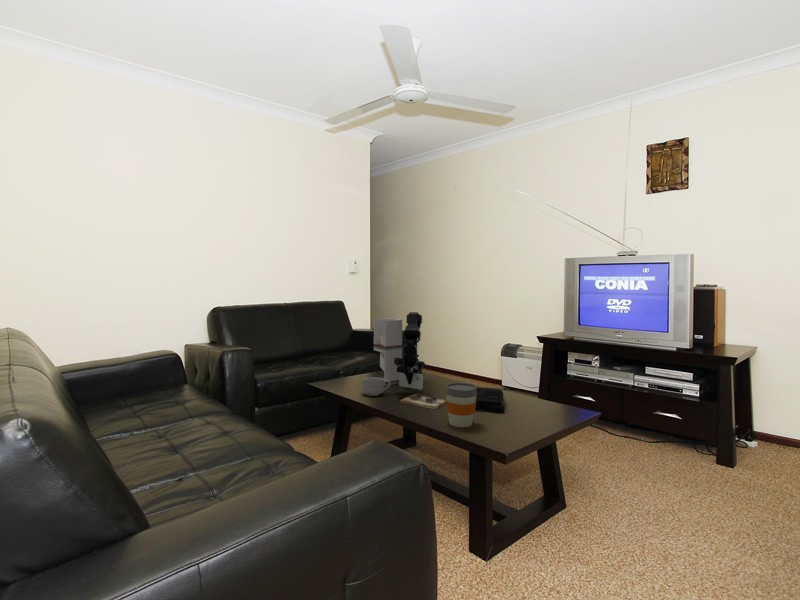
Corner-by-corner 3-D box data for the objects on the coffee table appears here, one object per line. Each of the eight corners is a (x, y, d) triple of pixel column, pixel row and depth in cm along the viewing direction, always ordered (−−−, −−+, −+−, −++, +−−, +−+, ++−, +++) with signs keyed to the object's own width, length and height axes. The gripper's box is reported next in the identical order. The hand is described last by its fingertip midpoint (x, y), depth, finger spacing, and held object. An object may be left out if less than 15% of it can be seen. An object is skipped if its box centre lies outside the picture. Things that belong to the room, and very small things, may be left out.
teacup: (359, 396, 213) (359, 380, 212) (366, 391, 223) (366, 375, 223) (386, 398, 209) (387, 382, 209) (392, 393, 220) (392, 377, 220)
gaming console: (504, 414, 189) (504, 398, 189) (458, 411, 193) (458, 395, 193) (503, 398, 215) (503, 384, 215) (462, 395, 219) (463, 381, 219)
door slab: (401, 385, 221) (402, 371, 221) (422, 388, 215) (422, 374, 215) (398, 386, 219) (398, 372, 218) (419, 389, 213) (419, 375, 212)
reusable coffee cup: (477, 420, 180) (478, 384, 179) (474, 430, 168) (475, 391, 167) (447, 417, 184) (448, 381, 183) (442, 426, 171) (443, 389, 171)
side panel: (413, 396, 214) (413, 390, 213) (446, 402, 204) (446, 396, 204) (400, 402, 203) (400, 395, 203) (435, 409, 194) (435, 402, 194)
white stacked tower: (389, 379, 249) (390, 318, 247) (401, 382, 241) (402, 319, 239) (373, 382, 242) (373, 319, 240) (385, 386, 234) (385, 320, 232)
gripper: (406, 348, 229) (406, 378, 229) (387, 353, 213) (387, 385, 213) (425, 350, 223) (425, 381, 224) (407, 356, 207) (406, 388, 208)
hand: (410, 383), depth 217 cm, fingers closed on door slab, 2 cm apart
